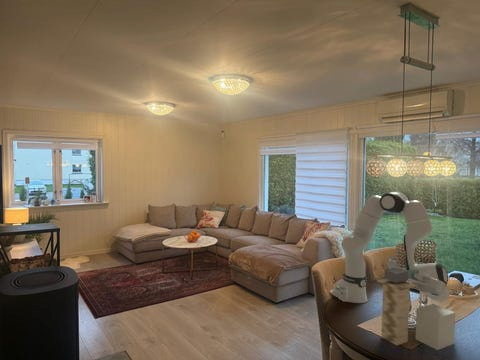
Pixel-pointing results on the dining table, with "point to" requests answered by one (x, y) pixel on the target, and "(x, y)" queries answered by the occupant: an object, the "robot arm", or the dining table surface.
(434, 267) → the robot arm
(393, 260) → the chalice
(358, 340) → the dining table surface
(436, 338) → the grey pedestal
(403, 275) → the grey boxy piece
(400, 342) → the beige pillar
